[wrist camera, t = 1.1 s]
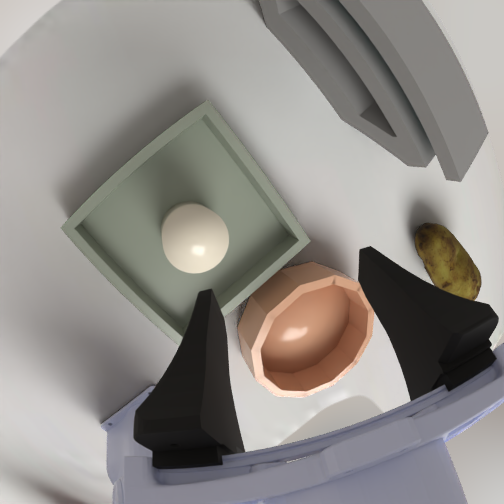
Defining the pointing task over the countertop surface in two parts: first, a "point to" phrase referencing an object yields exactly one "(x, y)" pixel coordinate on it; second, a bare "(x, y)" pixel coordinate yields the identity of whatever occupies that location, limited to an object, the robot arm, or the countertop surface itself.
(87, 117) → the countertop surface
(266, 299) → the bowl
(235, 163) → the parts tray
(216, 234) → the cream rounded capsule
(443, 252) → the potato
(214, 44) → the countertop surface
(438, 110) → the grey storage case
